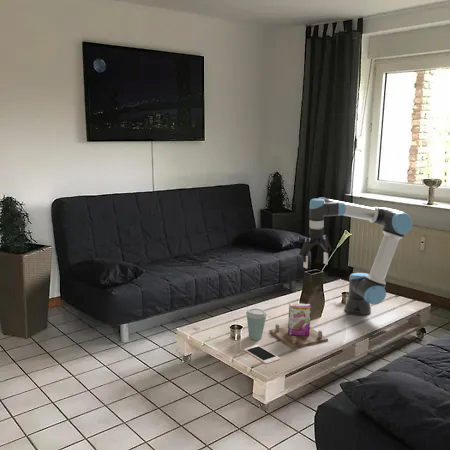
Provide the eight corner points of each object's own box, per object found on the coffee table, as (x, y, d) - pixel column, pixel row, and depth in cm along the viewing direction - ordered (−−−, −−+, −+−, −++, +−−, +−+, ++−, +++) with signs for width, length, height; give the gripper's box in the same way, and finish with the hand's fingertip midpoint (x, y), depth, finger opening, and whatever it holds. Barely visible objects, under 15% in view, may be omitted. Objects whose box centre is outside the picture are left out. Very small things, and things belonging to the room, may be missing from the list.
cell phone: (266, 365, 233) (266, 363, 233) (243, 350, 247) (243, 348, 247) (280, 360, 238) (280, 358, 238) (257, 346, 252) (257, 344, 252)
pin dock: (303, 325, 278) (304, 317, 277) (328, 341, 258) (328, 332, 257) (269, 332, 268) (269, 323, 267) (292, 348, 249) (292, 340, 248)
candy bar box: (287, 335, 261) (289, 305, 258) (287, 331, 266) (288, 302, 263) (309, 336, 260) (311, 306, 257) (309, 332, 265) (310, 303, 262)
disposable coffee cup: (253, 331, 269) (254, 305, 266) (270, 337, 262) (271, 310, 259) (241, 337, 261) (242, 310, 258) (258, 343, 254) (259, 316, 251)
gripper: (330, 223, 277) (329, 260, 281) (293, 229, 266) (292, 267, 270) (339, 226, 270) (338, 264, 275) (301, 231, 259) (300, 271, 264)
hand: (315, 265), depth 272 cm, fingers open, 13 cm apart
